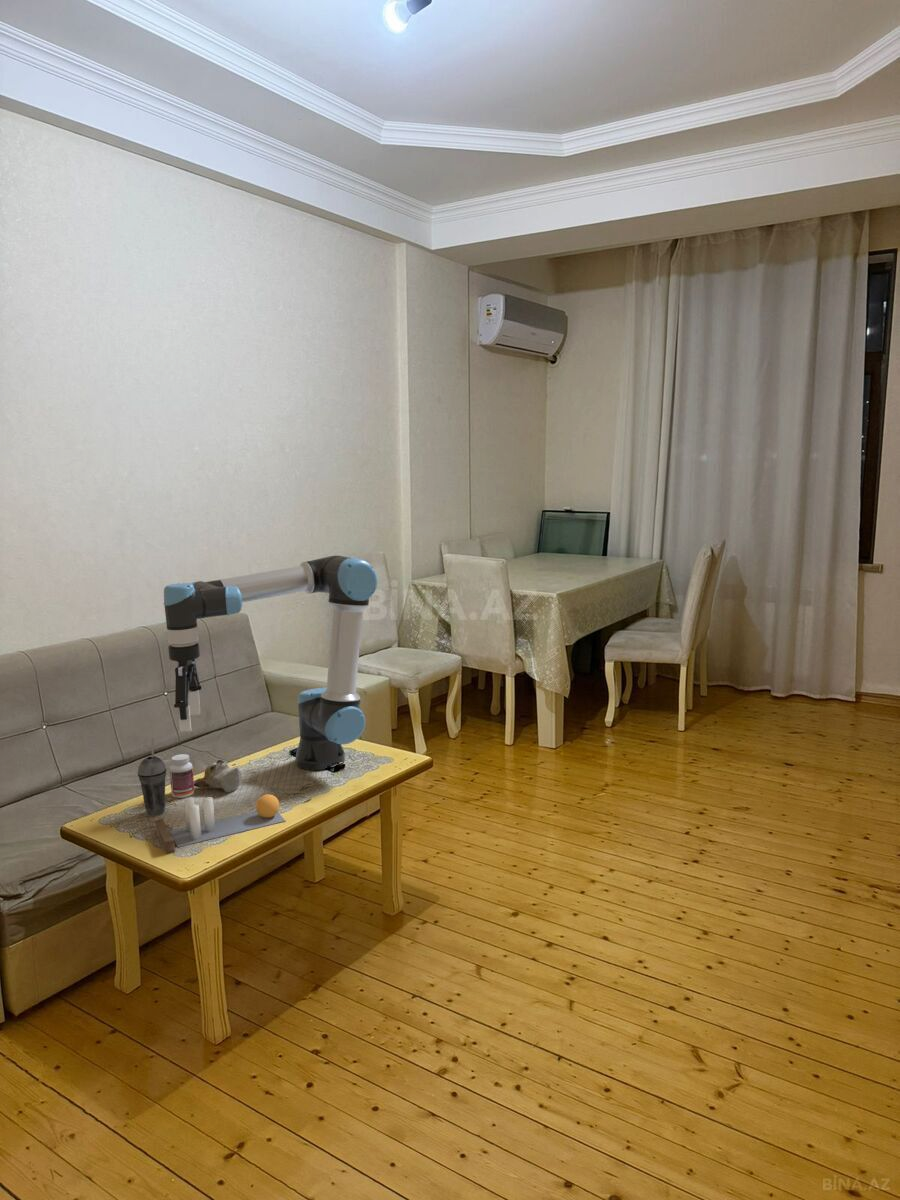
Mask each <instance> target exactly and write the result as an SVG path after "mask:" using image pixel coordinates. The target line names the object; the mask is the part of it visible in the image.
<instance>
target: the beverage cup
mask: <svg viewBox="0 0 900 1200" xmlns="http://www.w3.org/2000/svg"><path fill="white" fill-rule="evenodd" d="M154 743H155V740H154V739H151V755H150V756H148V757H145V758H144V759H143V760H142V761H141V762H140V763H139V765H138V768H137V776H138V780H139V782H140V786H141V791H142V793H141V794H142V797H143V803H144V807H145V808H144V809H145V812H146V816H148V817H157V816H161V815H163V814H165V813H166V812H165V809H166V808H165V807H166V778H167V777H166V776H167V768H166V764H165V762H164V761H163V760H162V758H160V757H157V756H154V755H155V751H154V749H155V748H154V745H155V744H154Z"/></svg>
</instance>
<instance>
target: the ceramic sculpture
mask: <svg viewBox="0 0 900 1200" xmlns="http://www.w3.org/2000/svg"><path fill="white" fill-rule="evenodd" d="M241 783H242V773H241V770H240V769H239V768H238V767H233V768H231V767H230V766H229V764H228V763H227V762H226V761H224V760H221V759H218V760H217V761H216V762H214V763H211V764H209V765H208V766H207V767H206V768H205V770H204V776H203V777H200V778H197V779H196V780H195V779H194V788H195V787H196V788H198V789H207V788H211V789H213V790H214V789H216V790H217V789H218V790H219V789H222V791H223V790H224V792H226V793H231V792H235V791H236V790H237V789H238V788H239V787H240V786H241Z"/></svg>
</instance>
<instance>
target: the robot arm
mask: <svg viewBox="0 0 900 1200" xmlns="http://www.w3.org/2000/svg"><path fill="white" fill-rule="evenodd" d="M377 589H378V575H377V573H376V571H375V568H374V567H373V566H372V564H370V563H369V562H368V561H366V560H364V559H361V558H357V557H351V556H350V557H349V556H342V555H330V556H326V557H325V556H324V557H322V558H321V557H320V558H317V559H311V560H308V561H302V562H301V563H300V565H298V566H293V567H287V568H281V569H274V570H268V571H264V572H256V573H251V574H250V573H249V574H246V575H238V576H234V577H233V576H232V577H227V578H221V579H217V580H210V581H209V580H208V581H202V580H200V581H199V580H198V581H193V582H191V583H190V582H182V583H180V582H179V583H171V584H168V585H166V586H164V588H163V606H164V613H165V624H166V631H165V633H164V635H165V636H167V643H168V644H169V645H168V647H167V649H168V658H169V660H170V661H172V662H177V667H175V668H174V671H175V672H174V674H175V675H174V676H175V690H174V691H175V692H174V693H175V694H174V695H175V699H174V700H175V701H174V704H173V707H174V709H175V708H177V716H178V717H177V718H178V726H179V732H182V733H183V732H192V723H191V721H192V720H191V716H200V715H201V702H200V701H201V700H200V693H199V691H201V690H202V685H201V683H200V680H199V674H198V669H197V664H196V659H198V658H199V657H200V655H201V654H200V644H199V643H198V642H199V630H198V628H199V627H198V620H200V619H206V618H215V617H223V616H224V617H225V616H230V615H236V614H239V613H240V612H241V611H242V608H243V603H247V602H254V601H259V600H264V599H267V598H268V599H270V598H275V597H280V596H284V595H291V594H296V593H301V592H305V593H306V594H308V595H309V594H315V593H324V594H325V593H326V594H328V604H329V605H330V607H331V608H332V618H331V619H332V620H331V632H330V644H329V653H328V654H329V655H328V657H329V658H328V667H327V681H326V687H318V688H317V687H315V688H311V689H306V690H303V691H301V692H300V693H299V694H298V698H297V709H298V720H299V721H298V723H299V742H298V746H297V749H296V754H295V765H296V766H297V767H298V768H300V769H302V770H303V769H304V770H308V771H322V770H326V769H325V768H326V767H327V766H328V765H330V764H332V763H335V762H343V763H344V762H345V761H346V756H345V755H346V754H345V750H344V747H343V746H342V745H349V744H351V743H353V742H354V741H356V740H357V739H358V738H360V736H361V735H362V733H363V732H364V729H365V726H366V717H365V714H364V713H363V711H362V710H361V709H360V707H361V696H360V695H359V693H358V692H357V681H358V671H359V670H358V669H359V659H360V657H359V656H360V648H361V647H360V646H361V638H362V637H361V634H362V625H363V623H362V622H363V614H364V610H365V609H366V608H368V607H369V602H370V598H372V595H374V593H376V591H377Z"/></svg>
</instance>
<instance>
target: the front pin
mask: <svg viewBox="0 0 900 1200" xmlns="http://www.w3.org/2000/svg"><path fill="white" fill-rule="evenodd" d="M202 804H203V805H202V806H203V816H204V823H205V831H206V832H213V831H215V809H214V798H213V797H211V796H208V797H204V798H203V799H202Z"/></svg>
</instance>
